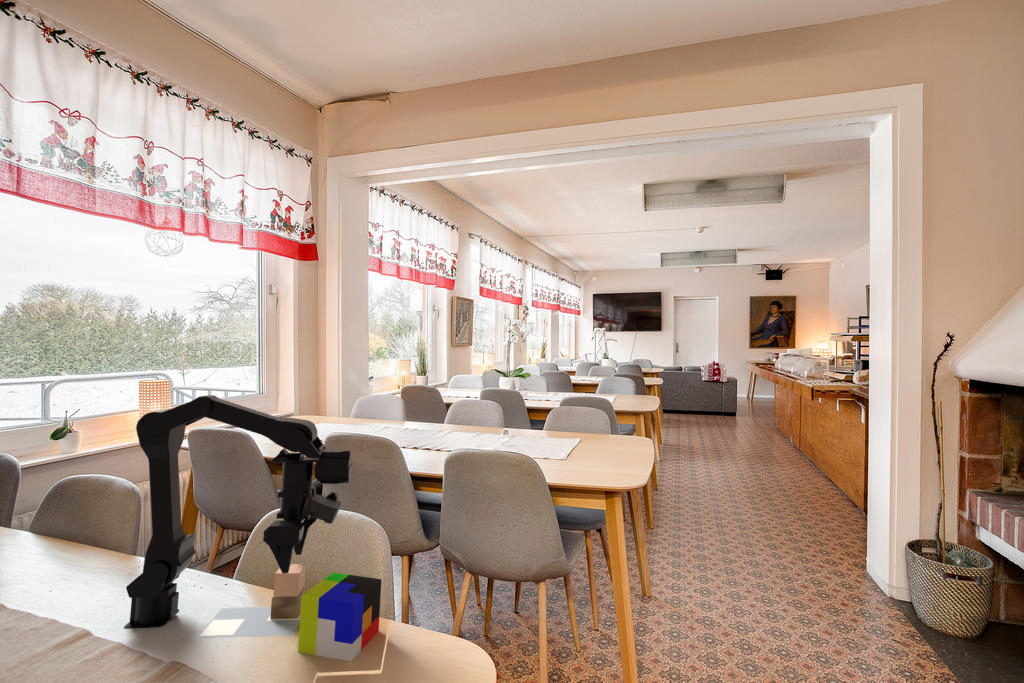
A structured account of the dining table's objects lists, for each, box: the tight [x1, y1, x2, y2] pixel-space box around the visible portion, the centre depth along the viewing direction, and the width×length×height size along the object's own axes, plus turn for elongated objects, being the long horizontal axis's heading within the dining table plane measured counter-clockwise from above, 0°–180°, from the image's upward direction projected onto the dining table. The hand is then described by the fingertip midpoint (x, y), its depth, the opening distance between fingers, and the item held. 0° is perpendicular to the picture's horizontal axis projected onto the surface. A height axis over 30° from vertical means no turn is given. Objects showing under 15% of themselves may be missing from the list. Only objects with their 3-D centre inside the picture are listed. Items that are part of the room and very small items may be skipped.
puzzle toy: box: [297, 572, 382, 662], centre depth 89 cm, size 10×10×10 cm
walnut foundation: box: [270, 585, 306, 619], centre depth 98 cm, size 5×5×4 cm
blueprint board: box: [195, 606, 300, 639], centre depth 95 cm, size 16×12×1 cm
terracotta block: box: [273, 563, 307, 597], centre depth 99 cm, size 4×4×4 cm
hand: (292, 563), depth 99 cm, fingers open, 9 cm apart
